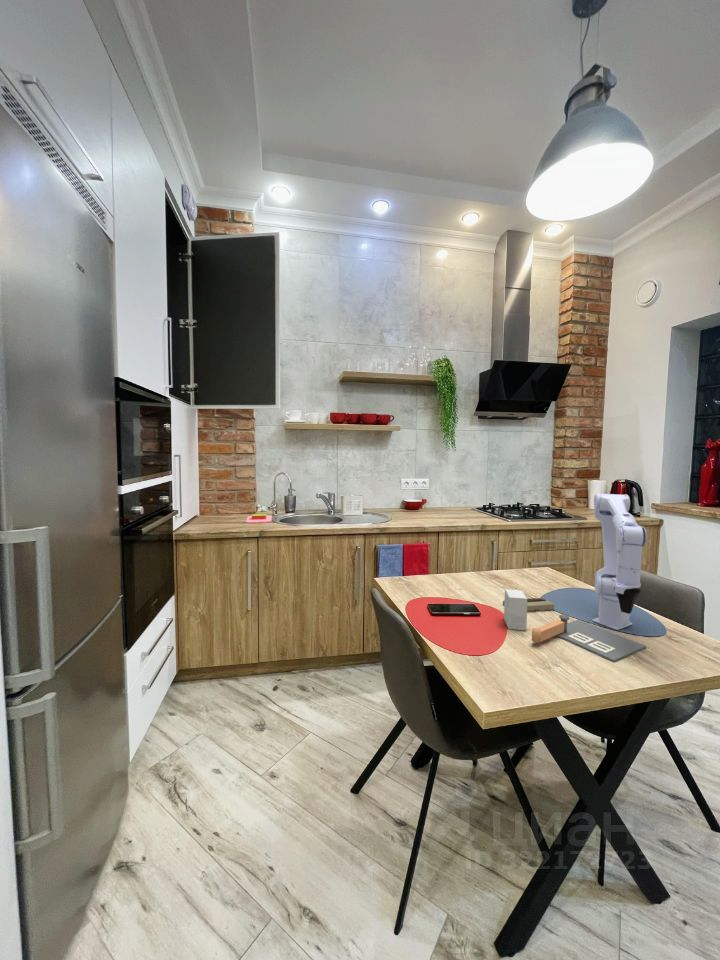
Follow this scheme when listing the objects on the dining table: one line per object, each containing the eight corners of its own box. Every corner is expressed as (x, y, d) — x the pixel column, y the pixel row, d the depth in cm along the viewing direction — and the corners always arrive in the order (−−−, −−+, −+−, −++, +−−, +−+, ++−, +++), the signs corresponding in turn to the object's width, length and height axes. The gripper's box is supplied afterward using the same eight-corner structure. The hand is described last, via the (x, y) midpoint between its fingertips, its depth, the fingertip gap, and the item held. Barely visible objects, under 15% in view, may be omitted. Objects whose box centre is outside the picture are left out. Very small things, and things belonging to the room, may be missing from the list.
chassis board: (578, 621, 128) (579, 605, 127) (646, 647, 110) (647, 630, 110) (546, 631, 120) (547, 615, 119) (613, 662, 102) (615, 643, 102)
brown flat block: (539, 603, 145) (539, 594, 144) (554, 611, 137) (554, 602, 136) (502, 606, 141) (502, 597, 141) (515, 615, 133) (515, 605, 133)
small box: (526, 631, 120) (527, 598, 119) (507, 629, 121) (509, 597, 120) (521, 620, 128) (522, 590, 127) (503, 618, 129) (504, 588, 128)
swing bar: (564, 631, 117) (565, 621, 117) (537, 643, 109) (538, 632, 109) (557, 628, 119) (557, 619, 119) (529, 640, 111) (530, 629, 111)
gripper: (621, 559, 118) (619, 602, 119) (603, 567, 109) (601, 613, 110) (649, 565, 112) (646, 609, 113) (632, 574, 103) (629, 622, 104)
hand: (625, 612), depth 111 cm, fingers closed
